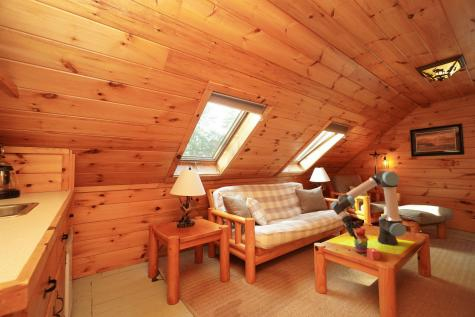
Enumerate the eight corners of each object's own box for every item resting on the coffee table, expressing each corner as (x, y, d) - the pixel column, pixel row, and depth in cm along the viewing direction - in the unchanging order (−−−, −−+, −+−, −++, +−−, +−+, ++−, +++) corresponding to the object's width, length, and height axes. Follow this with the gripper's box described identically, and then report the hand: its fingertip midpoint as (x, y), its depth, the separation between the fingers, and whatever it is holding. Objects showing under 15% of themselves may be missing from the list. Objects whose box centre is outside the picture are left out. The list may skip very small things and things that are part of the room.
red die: (373, 256, 170) (373, 248, 170) (380, 259, 164) (379, 250, 165) (366, 256, 169) (366, 248, 169) (373, 259, 163) (372, 251, 164)
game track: (368, 248, 186) (368, 247, 186) (380, 254, 173) (380, 253, 173) (352, 249, 183) (352, 249, 183) (363, 256, 170) (363, 255, 170)
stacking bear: (370, 250, 177) (369, 227, 178) (367, 254, 170) (366, 230, 171) (355, 247, 185) (354, 225, 185) (352, 250, 177) (351, 228, 178)
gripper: (350, 218, 197) (368, 241, 182) (334, 221, 186) (352, 246, 172) (355, 213, 192) (375, 236, 178) (339, 216, 182) (359, 241, 167)
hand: (364, 241), depth 175 cm, fingers open, 9 cm apart
